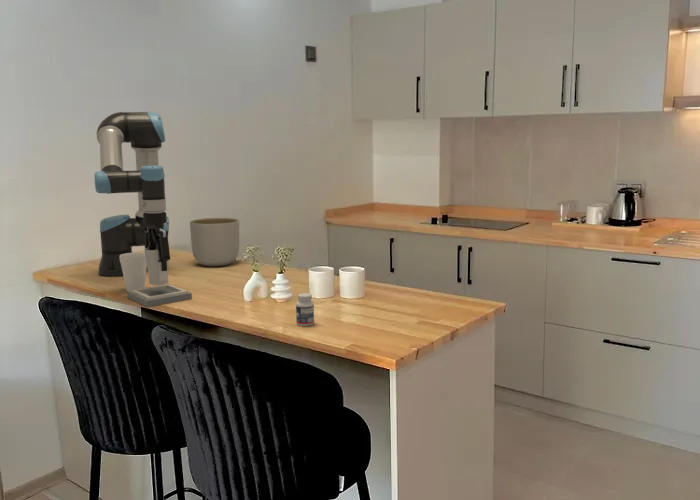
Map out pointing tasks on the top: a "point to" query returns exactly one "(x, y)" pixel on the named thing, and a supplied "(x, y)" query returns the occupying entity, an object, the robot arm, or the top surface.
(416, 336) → the top surface
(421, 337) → the top surface
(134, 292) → the grey square tray
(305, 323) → the pill bottle
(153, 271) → the cup
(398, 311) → the top surface
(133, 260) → the foam cup
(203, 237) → the planter
